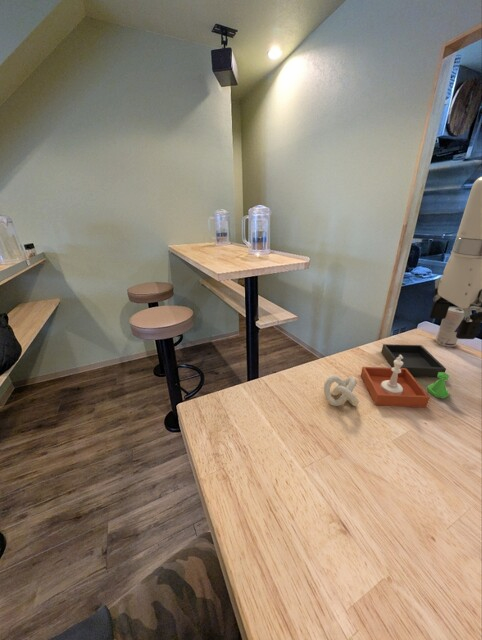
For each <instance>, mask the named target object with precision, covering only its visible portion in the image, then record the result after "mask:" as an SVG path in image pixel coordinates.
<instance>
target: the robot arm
mask: <svg viewBox="0 0 482 640" xmlns="http://www.w3.org/2000/svg"><path fill="white" fill-rule="evenodd" d="M466 201H467V202H466V205H465V208H464V211H463V215H462V218H461V222H460V224H459V227H458V230H457V233H456V237H455V240H454V243H453V246H452V250H451V252H450V256H449V258H448V260H447V261H446V264H445V267H444V269H443V272H442V274H441V277H440V278H437V279H435V281H434V290H433V293H434V297H433V298H432V300H433V304H432V307H431V310H430V314H429V318H430V319H433V320H436V319H437V320H442V319H445V318H446V315H447V312H448V309H449V307H451V304H453V305H455V307H459V308H462V309H463V310H464V316H465V320H462V321H461V324H460V326H459V329H458V332H457V334H456V337H457V338H458V340H474V339H476V337H477V335H478V333H479V329H480V327H481V325H482V176H479V177H478V178H477V179H476V180H474V182H473V183H472V186H471V188H470V192H469V196H468V198H467V200H466ZM472 311H475V313H474V314H473V313H472Z"/></svg>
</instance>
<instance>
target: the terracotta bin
mask: <svg viewBox="0 0 482 640" xmlns="http://www.w3.org/2000/svg"><path fill="white" fill-rule="evenodd" d="M391 369H392V367H385V366H384V367H381V366H380V367H379V366H362V367H361V371H360V377H361V379H362V381H363V383H364V385H365V387H366V389H367V391H368V393H369V395H370V397H371V399H372V401H373V403H374V404H375V406H390V407H408V408H427V407H428V405H429V401H430V399H431V397H430V396H429V395H428V393H427V392H426V391H425V390H424V388H423V387H422V386H421V384H420V383H419V382H418V381H417V379H416V377H413V376H412V375H411V373H410V372H409V371H408V370H407V368H400V370H401V373H398V377H397V383H398V384H400V385H401V386H402V388H403V392H402V394H400V395H399V394H389V393H387V392H385V391H384V390H382V388H381V386H380V385H381V383H382V382H383V381H385V380H390V379H391V376H392V374H393V371H392V370H391Z"/></svg>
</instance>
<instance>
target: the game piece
mask: <svg viewBox="0 0 482 640" xmlns="http://www.w3.org/2000/svg"><path fill="white" fill-rule="evenodd" d="M437 377H438V378H437V380H435V381H434V382H433V383H432V384H428V385H427V392H428V393H429V394H431V395H432V396H434V397H436V398H441V399H445V398H448V397H449V395H450V393H449V390H448V388H447V386H446V381H449V378H450V375H449V374H448V373H447V372H446V371H445V372H438V375H437Z"/></svg>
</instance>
